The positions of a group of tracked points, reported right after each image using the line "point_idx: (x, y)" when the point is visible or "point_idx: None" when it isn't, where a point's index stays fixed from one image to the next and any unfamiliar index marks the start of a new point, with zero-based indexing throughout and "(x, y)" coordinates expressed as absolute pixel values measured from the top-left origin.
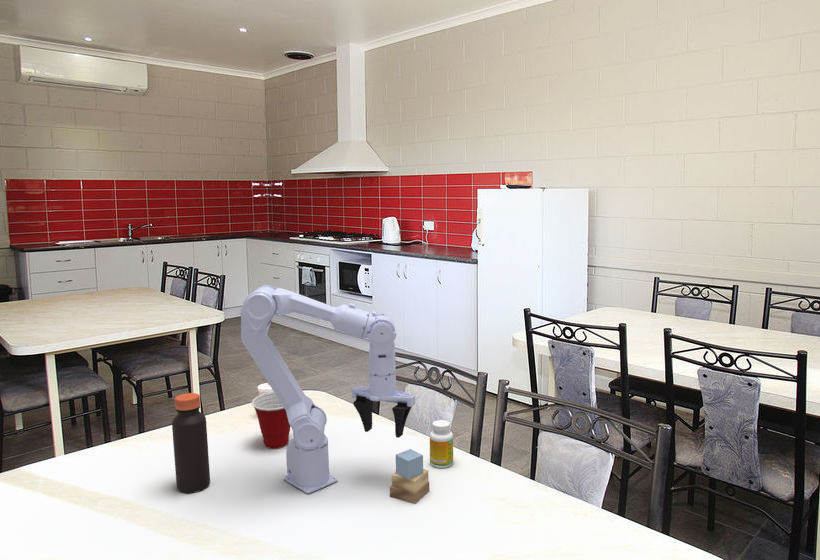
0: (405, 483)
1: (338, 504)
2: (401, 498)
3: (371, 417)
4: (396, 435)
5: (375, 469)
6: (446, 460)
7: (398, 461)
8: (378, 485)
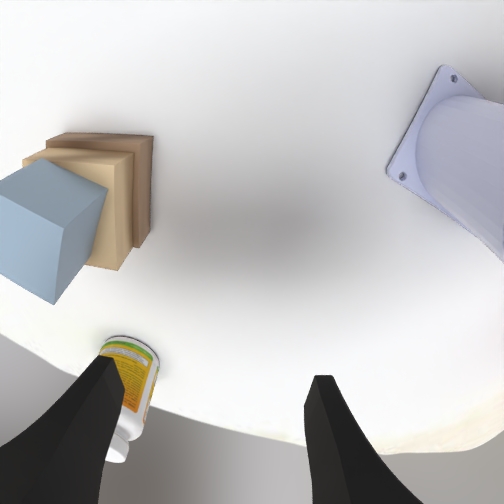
0: (66, 156)
1: (310, 20)
2: (105, 134)
3: (311, 464)
4: (102, 364)
5: (290, 287)
6: (99, 354)
7: (59, 204)
8: (229, 193)
